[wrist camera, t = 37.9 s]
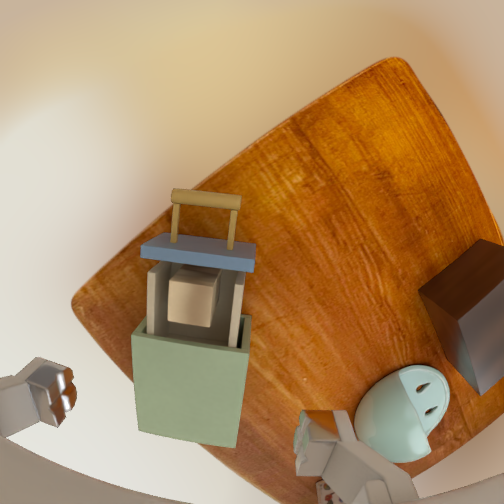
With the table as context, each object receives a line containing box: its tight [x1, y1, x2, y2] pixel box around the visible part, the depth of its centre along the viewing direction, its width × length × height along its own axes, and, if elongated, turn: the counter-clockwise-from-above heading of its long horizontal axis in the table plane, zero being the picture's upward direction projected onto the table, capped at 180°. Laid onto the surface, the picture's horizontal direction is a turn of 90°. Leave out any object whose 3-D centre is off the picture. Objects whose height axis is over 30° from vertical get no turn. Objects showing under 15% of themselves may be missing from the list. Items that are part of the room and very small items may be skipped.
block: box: [168, 264, 222, 327], centre depth 31 cm, size 4×4×7 cm
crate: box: [418, 239, 504, 396], centre depth 32 cm, size 14×12×10 cm
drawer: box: [140, 188, 256, 348], centre depth 32 cm, size 18×10×7 cm, turn 173°
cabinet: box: [131, 314, 252, 448], centre depth 35 cm, size 14×12×9 cm
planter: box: [354, 365, 450, 463], centre depth 37 cm, size 19×7×16 cm
